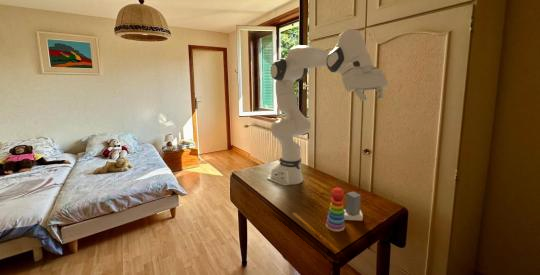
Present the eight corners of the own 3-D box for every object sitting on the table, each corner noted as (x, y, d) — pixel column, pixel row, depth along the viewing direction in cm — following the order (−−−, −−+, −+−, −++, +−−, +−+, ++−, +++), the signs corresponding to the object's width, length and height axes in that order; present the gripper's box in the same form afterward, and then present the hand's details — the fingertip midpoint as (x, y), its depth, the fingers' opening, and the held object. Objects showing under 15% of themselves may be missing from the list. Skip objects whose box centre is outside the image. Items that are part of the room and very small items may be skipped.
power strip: (336, 221, 113) (337, 214, 112) (335, 215, 117) (335, 208, 116) (362, 223, 111) (362, 215, 110) (359, 216, 116) (360, 209, 115)
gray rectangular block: (351, 213, 117) (353, 191, 114) (359, 218, 113) (360, 195, 110) (345, 215, 115) (346, 193, 112) (352, 220, 111) (354, 197, 108)
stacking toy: (336, 236, 103) (338, 194, 98) (321, 227, 109) (323, 187, 104) (348, 229, 107) (351, 188, 102) (333, 220, 113) (335, 182, 109)
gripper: (372, 70, 107) (383, 100, 104) (336, 71, 97) (347, 105, 94) (384, 62, 101) (396, 94, 99) (347, 63, 92) (359, 98, 89)
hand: (372, 99), depth 96 cm, fingers open, 8 cm apart
